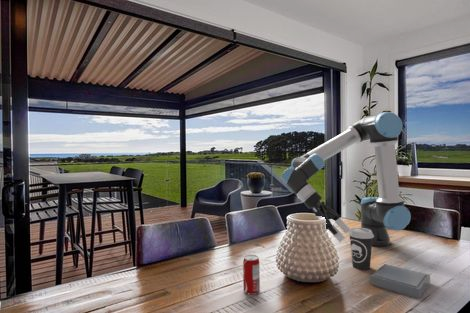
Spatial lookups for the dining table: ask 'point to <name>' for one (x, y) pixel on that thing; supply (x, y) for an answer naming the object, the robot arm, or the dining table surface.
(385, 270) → the slate base
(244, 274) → the soda can
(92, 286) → the dining table surface
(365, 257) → the coffee cup
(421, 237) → the dining table surface
